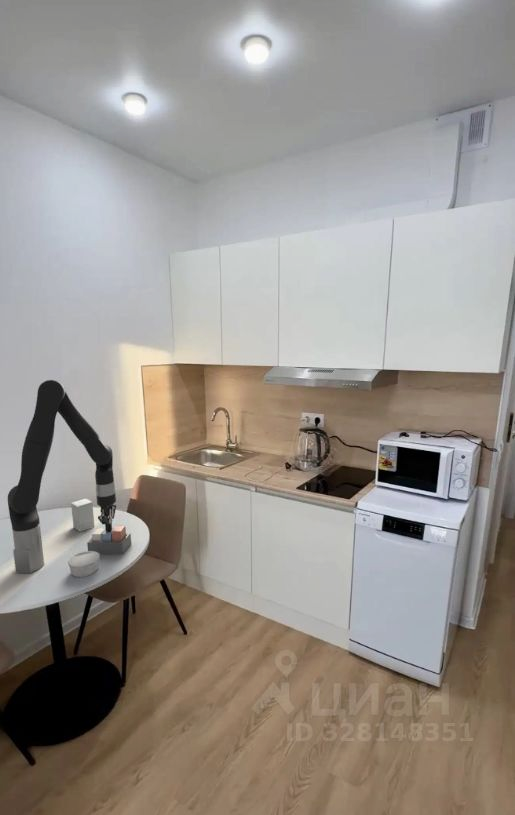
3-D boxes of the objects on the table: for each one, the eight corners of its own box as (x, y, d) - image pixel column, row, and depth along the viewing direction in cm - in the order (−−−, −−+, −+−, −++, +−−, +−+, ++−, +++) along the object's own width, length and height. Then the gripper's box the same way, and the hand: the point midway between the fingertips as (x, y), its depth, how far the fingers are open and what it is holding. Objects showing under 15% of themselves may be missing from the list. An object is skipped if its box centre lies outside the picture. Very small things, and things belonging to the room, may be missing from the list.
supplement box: (95, 526, 187) (92, 501, 185) (79, 532, 182) (77, 506, 180) (88, 522, 192) (86, 497, 190) (72, 527, 187) (70, 502, 185)
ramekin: (95, 559, 159) (94, 547, 158) (104, 571, 150) (103, 559, 149) (66, 569, 152) (64, 557, 151) (73, 583, 143) (72, 569, 142)
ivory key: (101, 545, 164) (100, 534, 163) (92, 545, 164) (91, 534, 164) (106, 539, 169) (105, 528, 168) (98, 539, 169) (97, 528, 168)
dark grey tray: (123, 554, 162) (122, 543, 161) (88, 553, 163) (87, 542, 162) (131, 543, 171) (130, 532, 170) (98, 542, 172) (97, 532, 171)
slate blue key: (111, 545, 164) (110, 534, 163) (102, 545, 164) (101, 533, 163) (116, 539, 169) (115, 528, 168) (108, 539, 169) (107, 528, 168)
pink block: (121, 542, 163) (120, 531, 162) (112, 542, 164) (111, 531, 163) (126, 536, 168) (125, 525, 167) (117, 536, 168) (116, 525, 168)
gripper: (107, 498, 156) (110, 538, 159) (121, 486, 169) (123, 524, 172) (89, 498, 157) (93, 538, 159) (104, 486, 170) (107, 523, 172)
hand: (109, 530), depth 166 cm, fingers closed
